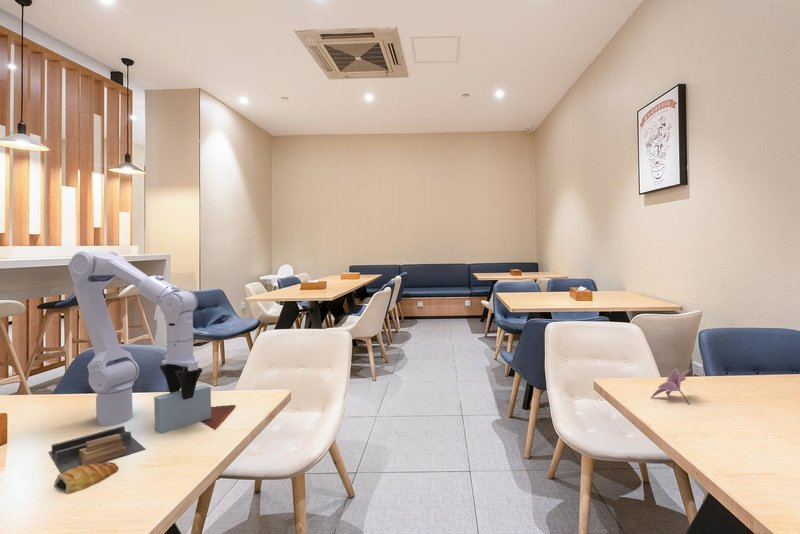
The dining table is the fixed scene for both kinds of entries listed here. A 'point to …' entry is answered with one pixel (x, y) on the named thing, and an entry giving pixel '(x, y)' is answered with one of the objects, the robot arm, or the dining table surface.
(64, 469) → the metal plate
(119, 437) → the offcuts
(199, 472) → the dining table surface
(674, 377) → the lily
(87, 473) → the pastry
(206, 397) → the pale blue upright panel
